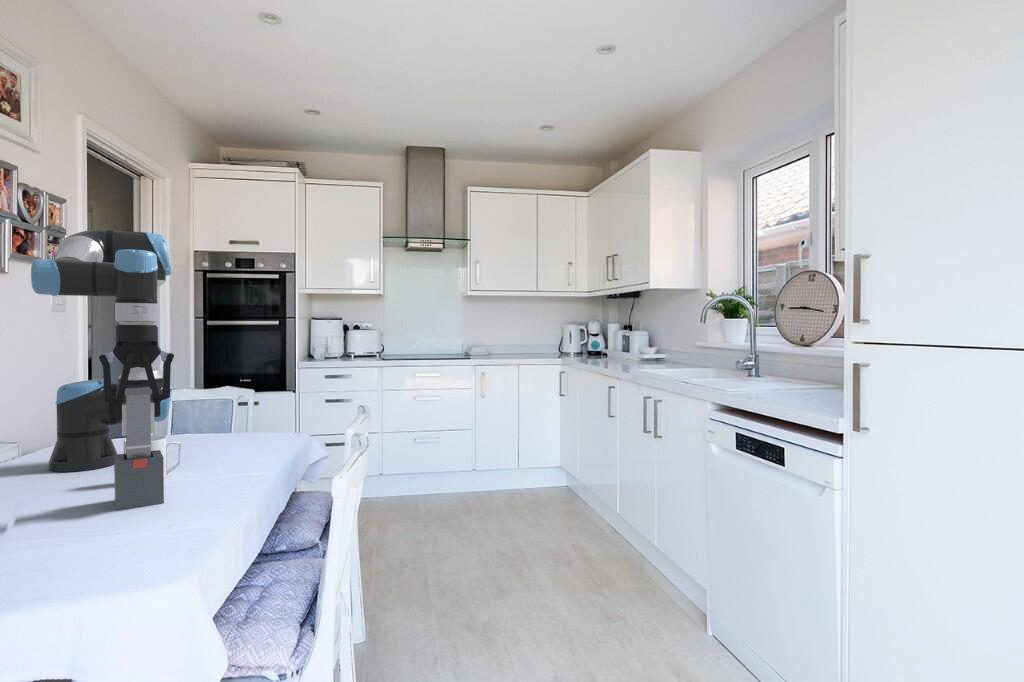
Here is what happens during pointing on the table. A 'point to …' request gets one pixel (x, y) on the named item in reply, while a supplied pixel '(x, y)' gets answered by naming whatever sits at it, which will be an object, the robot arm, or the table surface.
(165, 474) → the mug
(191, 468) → the table surface
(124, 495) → the stand
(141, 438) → the column
